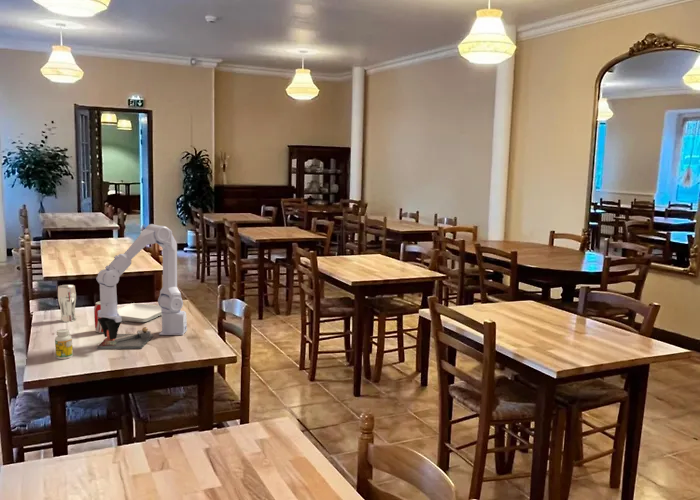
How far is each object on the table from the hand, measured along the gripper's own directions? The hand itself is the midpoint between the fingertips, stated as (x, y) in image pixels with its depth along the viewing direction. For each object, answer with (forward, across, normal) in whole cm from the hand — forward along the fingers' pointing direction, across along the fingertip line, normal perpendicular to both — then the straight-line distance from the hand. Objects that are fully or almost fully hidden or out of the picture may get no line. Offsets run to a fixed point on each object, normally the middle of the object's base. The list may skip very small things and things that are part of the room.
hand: (110, 337), depth 228 cm
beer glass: (+3, -46, +4) cm, 46 cm away
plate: (+3, +1, +6) cm, 6 cm away
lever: (+2, 0, +7) cm, 8 cm away
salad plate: (+4, -30, +28) cm, 42 cm away
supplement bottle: (+3, +1, -18) cm, 18 cm away
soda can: (+3, -19, +7) cm, 21 cm away
